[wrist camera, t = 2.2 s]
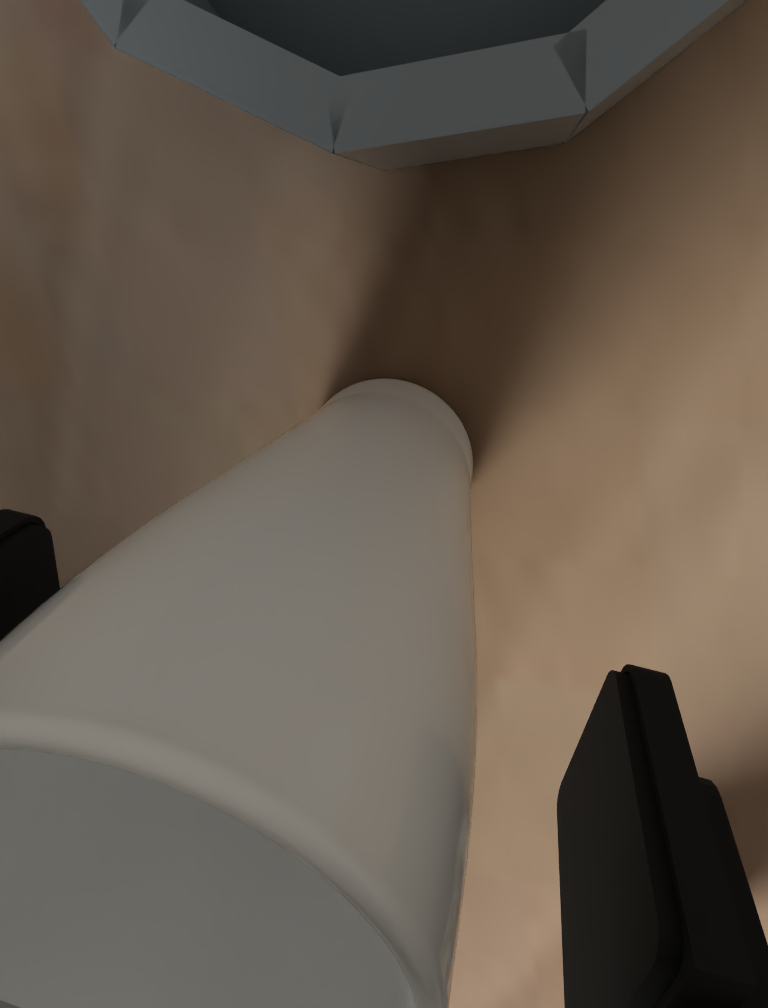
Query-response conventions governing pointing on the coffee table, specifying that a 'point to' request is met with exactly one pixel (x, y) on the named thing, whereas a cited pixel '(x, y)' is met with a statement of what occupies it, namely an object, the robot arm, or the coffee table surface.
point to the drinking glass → (254, 734)
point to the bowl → (413, 65)
